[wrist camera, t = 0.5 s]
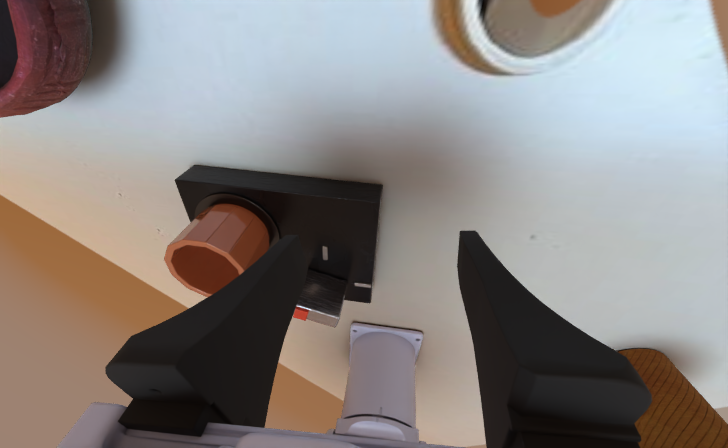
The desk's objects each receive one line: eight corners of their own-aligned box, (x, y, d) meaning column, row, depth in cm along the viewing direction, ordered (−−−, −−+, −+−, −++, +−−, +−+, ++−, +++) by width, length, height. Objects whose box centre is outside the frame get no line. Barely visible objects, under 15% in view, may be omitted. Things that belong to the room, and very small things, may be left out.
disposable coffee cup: (620, 329, 29) (724, 493, 19) (713, 351, 29) (862, 524, 19) (560, 375, 34) (617, 518, 25) (638, 393, 35) (724, 542, 25)
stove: (372, 292, 30) (369, 314, 28) (229, 273, 31) (215, 293, 29) (382, 184, 23) (380, 203, 20) (193, 164, 24) (172, 180, 21)
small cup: (275, 260, 25) (253, 303, 21) (212, 252, 25) (180, 293, 22) (265, 205, 22) (237, 246, 18) (193, 197, 22) (152, 235, 19)
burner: (284, 265, 26) (283, 266, 25) (208, 255, 26) (207, 257, 26) (274, 197, 21) (273, 199, 21) (184, 187, 22) (182, 189, 22)
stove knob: (348, 280, 26) (339, 321, 22) (344, 290, 26) (334, 331, 23) (308, 268, 25) (293, 307, 22) (305, 278, 26) (290, 317, 23)
